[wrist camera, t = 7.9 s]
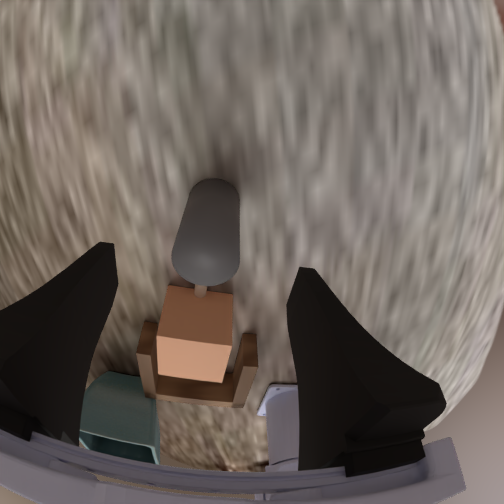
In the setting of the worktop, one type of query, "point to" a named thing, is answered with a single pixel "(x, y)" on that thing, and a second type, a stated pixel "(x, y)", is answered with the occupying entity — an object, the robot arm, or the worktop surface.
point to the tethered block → (201, 286)
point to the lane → (197, 391)
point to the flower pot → (120, 419)
